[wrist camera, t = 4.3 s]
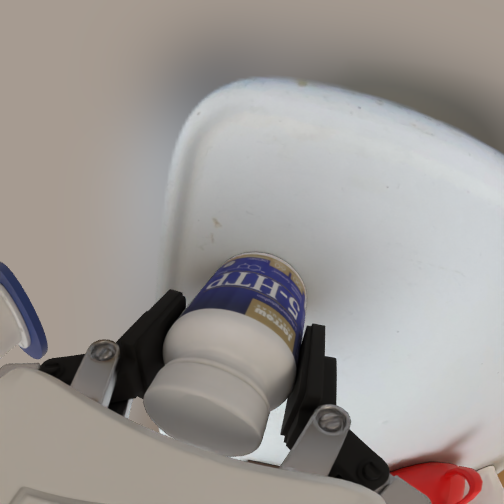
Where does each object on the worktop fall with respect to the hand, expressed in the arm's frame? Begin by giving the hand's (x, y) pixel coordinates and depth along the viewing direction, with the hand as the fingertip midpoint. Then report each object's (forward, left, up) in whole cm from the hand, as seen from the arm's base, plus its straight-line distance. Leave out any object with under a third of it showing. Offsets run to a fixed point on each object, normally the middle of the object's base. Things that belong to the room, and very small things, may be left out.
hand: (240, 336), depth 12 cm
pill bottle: (0, 0, -4) cm, 4 cm away
